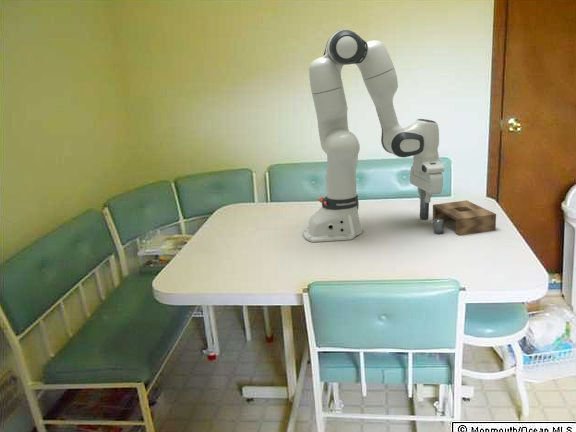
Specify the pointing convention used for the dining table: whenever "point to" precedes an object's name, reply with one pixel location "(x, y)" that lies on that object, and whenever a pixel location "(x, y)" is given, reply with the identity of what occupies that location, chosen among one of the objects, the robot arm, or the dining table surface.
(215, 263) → the dining table surface
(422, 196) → the long pin
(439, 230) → the short pin
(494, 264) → the dining table surface
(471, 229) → the bridge
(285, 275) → the dining table surface
